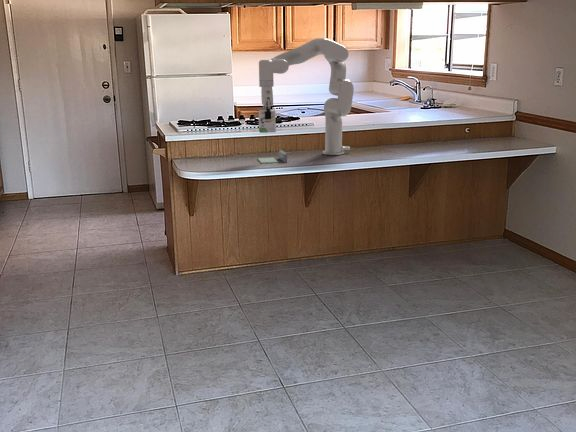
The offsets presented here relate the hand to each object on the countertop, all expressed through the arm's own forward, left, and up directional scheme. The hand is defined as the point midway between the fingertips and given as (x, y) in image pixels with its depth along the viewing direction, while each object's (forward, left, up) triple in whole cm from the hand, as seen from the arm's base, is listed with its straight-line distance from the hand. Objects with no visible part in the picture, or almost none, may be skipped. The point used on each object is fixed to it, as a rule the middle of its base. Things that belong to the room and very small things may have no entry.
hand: (267, 118), depth 323 cm
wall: (-8, 0, -23) cm, 25 cm away
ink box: (0, 0, -8) cm, 8 cm away
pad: (0, 0, -23) cm, 23 cm away
